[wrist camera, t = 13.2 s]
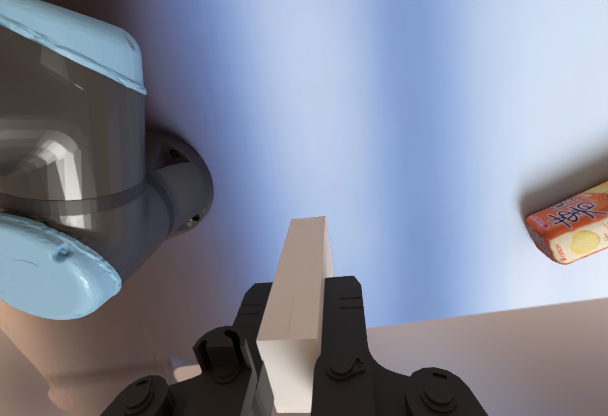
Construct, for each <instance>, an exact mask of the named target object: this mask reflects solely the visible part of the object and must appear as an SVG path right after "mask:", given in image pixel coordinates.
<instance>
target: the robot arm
mask: <svg viewBox="0 0 608 416" xmlns="http://www.w3.org/2000/svg"><path fill="white" fill-rule="evenodd" d="M146 94H147V92H146V89H145V87H144V83H143V71H142V57H141V51H140V48H139V46H138V44H137V42H136V41H135V39H134V38H133V37H132V36H131V35H130V34H129V33H128V32H126V31H125V30H123V29H121V28H119V27H117V26H114V25H112V24H109V23H106V22H103V21H101V20H98V19H95V18H92V17H89V16H86V15H83V14H80V13H77V12H74V11H71V10H68V9H65V8H62V7H59V6H56V5H53V4H50V3H47V2H44V1H41V0H0V300H2V301H3V302H5V303H7V304H9V305H10V306H12V307H14V308H17V309H19V310H21V311H24V312H26V313H29V314H32V315H35V316H39V317H43V318H49V319H56V320H68V319H76V318H80V317H83V316H85V315H87V314H90V313H91V312H93V311H95V310H96V309H98V308H99V307H100V306H101V305H102V304H103V303H105V302H106V301H107V300H108V299H109V298H110V297H112V296H114V295H116V294H117V293H118V292H119V291H120V289H121V286H122V285H123V284H124V283H125V282H126V281H127V280H128V279H129V278H130V277H131V276H132V275H133V274H134V273H135V272H136V270H137V269H138V268H139V267H140V266H141V265H142V264H143V263H144V262H145V261H146V260H147V259H148V258H149V257H150V256H151V255H152V254H153V253H154V252H155V251H156V250H157V249H158V248H159V246H160V245H161V244H162V243H163V242H164V241H165V240H167V239H170V238H172V237H175V236H178V235H180V234H183V233H186V232H188V231H189V230H191V229H193V228H194V227H195V226H197V225H198V224H199V223H200V221H201V220H202V219H203V218H204V217H205V216H206V214H207V213H208V211H209V209H210V207H211V204H212V201H213V183H212V178H211V175H210V173H209V170H208V168H207V166H206V165H205V163H204V162H203V160H202V159H201V157H200V156H199V155H198V154H197V153H196V152H195V151H194V150H193V149H192V148H191V147H190V146H188V145H187V144H186V143H184V142H182V141H181V140H179V139H177V138H175V137H173V136H170V135H167V134H162V133H155V132H148V133H145V95H146ZM193 350H194V353H195V355H196V358H197V360H198V363H199V365H200V367H201V370H202V373H201V374H200V375H198V376H196V377H193V378H191V379H188V380H185V381H182V382H178V383H175V384H172V385H169V386H168V384H167V382H166V380H165V379H164V378H162V377H161V376H156V375H150V376H147V377H143V378H140V379H138V380H137V381H135V382H133V383H132V384H130V385H128V386H127V387H126V388H125V389H124V390H123V391H122V392H121V393H120V394H119V395H118V396H117V397H116V398H115V399H114V401H113V402H112V403H111V404H110V405H109V406H108V407H107V408H106V410H105V411H104V412H103V413H102V414H101V415H100V416H271V413H272V407H273V402H274V404H275V407H276V410H277V413H299V412H301V413H307V412H308V413H311V416H488V415H487V413H486V412H485V410H484V409H483V407H482V406H481V404H480V403H479V402H478V400H477V399H476V397H475V396H474V394H473V393H472V391H471V390H470V388H469V387H468V386H467V385H466V384H465V383H464V382H463V381H462V380H461V379H460V378H459V377H458V376H456V375H454V374H452V373H451V372H449V371H447V370H443V369H439V368H435V367H431V368H422V369H420V370H418V371H415V372H413V373H412V375H411V376H410V377H409V376H406V375H402V374H398V373H395V372H392V371H390V370H387V369H385V368H384V367H382V366H381V365H379V364H378V363H377V362H376V361H375V360H374V359H373V357H372V355H371V354H370V352H369V348H368V343H367V334H366V325H365V316H364V307H363V298H362V289H361V284H360V283H359V282H358V281H357V279H356V278H355V277H354V276H343V277H333V265H332V258H331V251H330V244H329V236H328V229H327V222H326V216H322V217H312V218H301V219H291V222H290V226H289V229H288V233H287V236H286V239H285V243H284V246H283V250H282V253H281V257H280V260H279V264H278V267H277V271H276V274H275V277H274V281H273V282H270V283H255V284H254V285H253V286H252V287H251V288H250V289H249V290H248V291H247V292H246V293H245V296H244V298H243V301H242V303H241V307H240V308H239V311H238V313H237V316H236V318H235V321H234V323H233V326H223V327H218V328H215V329H213V330H211V331H209V332H207V333H206V334H205V335H203V336H202V337H201V338H200V339H198V341H197V342H196V344H195V345H194V346H193Z"/></svg>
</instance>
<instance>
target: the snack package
mask: <svg viewBox="0 0 608 416" xmlns="http://www.w3.org/2000/svg"><path fill="white" fill-rule="evenodd" d="M525 224H526V227H527V229H528V231H529V233H530V235H531V237H532V239H533V241H534V243H535V245H536V247H537V248H538V249H539V250H540V251H541V252H542V253H544V254H545V255H546V256H547V257H548V258H550V259H551V260H552V261H554V262H557V263H559V264H563V265H567V264H570V263H572V262H574V261H576V260H579V259H582V258H584V257H587V256H589V255H591V254H594V253H596V252H599V251H601V250H604V249H606V248H608V181H606V182H604V183H602V184H600V185H597V186H595V187H593V188H591V189H589V190H586V191H584V192H582V193H580V194H578V195H575V196H573V197H571V198H569V199H566V200H564V201H562V202H560V203H558V204H555V205H553V206H551V207H549V208H546V209H544V210H541V211H539V212H536V213H534V214H532V215H529V216H528V217H527V218H526V220H525Z"/></svg>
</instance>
